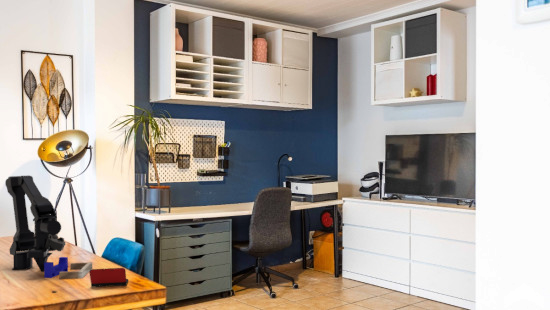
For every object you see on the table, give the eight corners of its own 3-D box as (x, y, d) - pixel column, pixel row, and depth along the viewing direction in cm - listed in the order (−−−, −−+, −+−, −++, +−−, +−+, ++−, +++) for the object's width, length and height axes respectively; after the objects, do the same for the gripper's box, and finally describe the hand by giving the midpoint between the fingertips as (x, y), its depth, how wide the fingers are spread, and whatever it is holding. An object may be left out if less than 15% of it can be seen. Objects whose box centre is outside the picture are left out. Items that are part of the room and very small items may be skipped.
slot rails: (59, 279, 214) (59, 272, 214) (71, 268, 233) (71, 262, 233) (82, 278, 215) (82, 271, 215) (92, 268, 234) (92, 262, 234)
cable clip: (57, 271, 229) (57, 256, 229) (67, 271, 228) (67, 257, 228) (40, 277, 217) (40, 262, 217) (51, 278, 217) (51, 262, 217)
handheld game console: (128, 281, 210) (128, 262, 210) (125, 288, 199) (125, 267, 199) (94, 283, 208) (94, 263, 208) (89, 290, 198) (89, 269, 198)
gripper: (56, 235, 214) (57, 276, 214) (69, 229, 233) (69, 266, 233) (26, 236, 213) (27, 277, 213) (41, 230, 231) (41, 267, 231)
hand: (42, 271), depth 222 cm, fingers closed
